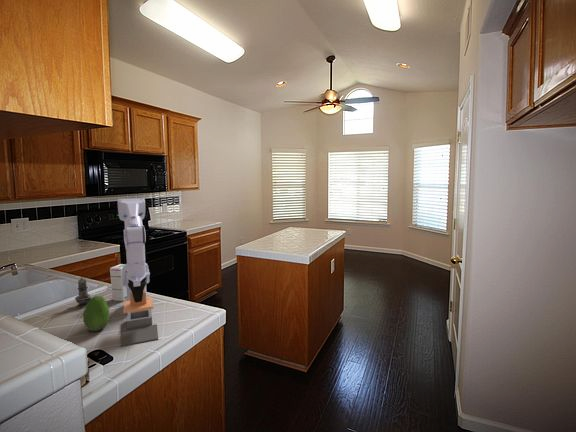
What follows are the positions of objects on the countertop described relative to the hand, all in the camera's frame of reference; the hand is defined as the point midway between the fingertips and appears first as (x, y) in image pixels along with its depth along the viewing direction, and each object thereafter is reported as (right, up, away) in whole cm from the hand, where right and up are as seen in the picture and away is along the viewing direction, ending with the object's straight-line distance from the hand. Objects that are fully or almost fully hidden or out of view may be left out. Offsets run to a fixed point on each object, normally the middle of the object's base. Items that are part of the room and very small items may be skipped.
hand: (138, 300), depth 111 cm
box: (-2, -10, +6) cm, 12 cm away
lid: (0, -2, 0) cm, 2 cm away
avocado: (-15, -11, +1) cm, 18 cm away
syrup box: (-20, -7, +29) cm, 36 cm away
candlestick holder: (-32, -8, +21) cm, 39 cm away
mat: (+2, -11, -3) cm, 12 cm away
